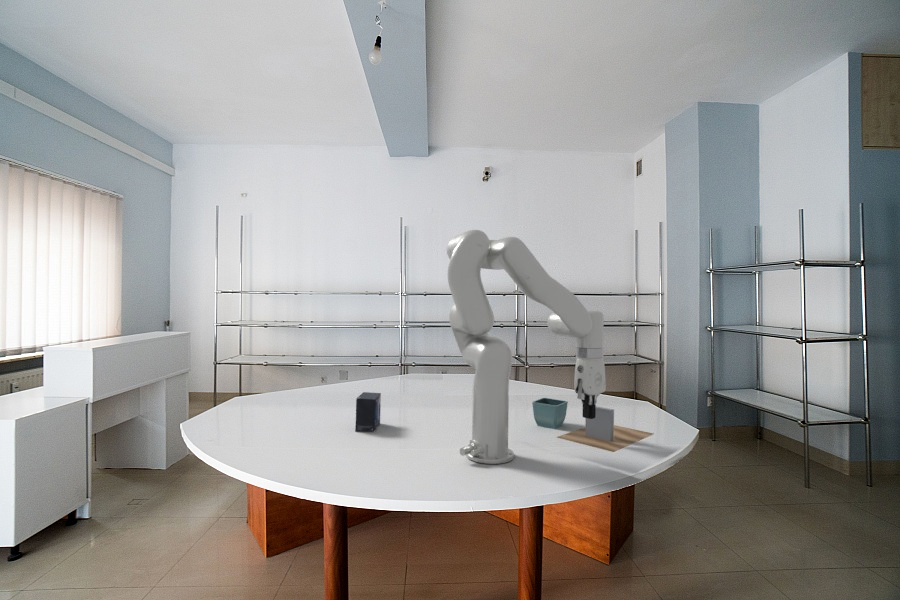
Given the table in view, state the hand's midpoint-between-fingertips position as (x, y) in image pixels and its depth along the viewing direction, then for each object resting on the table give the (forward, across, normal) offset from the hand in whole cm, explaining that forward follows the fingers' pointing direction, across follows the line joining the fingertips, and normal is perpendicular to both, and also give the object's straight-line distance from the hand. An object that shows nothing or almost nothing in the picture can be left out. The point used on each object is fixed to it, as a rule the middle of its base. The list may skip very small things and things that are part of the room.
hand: (588, 417), depth 134 cm
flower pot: (+8, +7, +18) cm, 21 cm away
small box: (+8, -36, +58) cm, 69 cm away
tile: (+7, +6, 0) cm, 9 cm away
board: (+8, +10, 0) cm, 13 cm away
